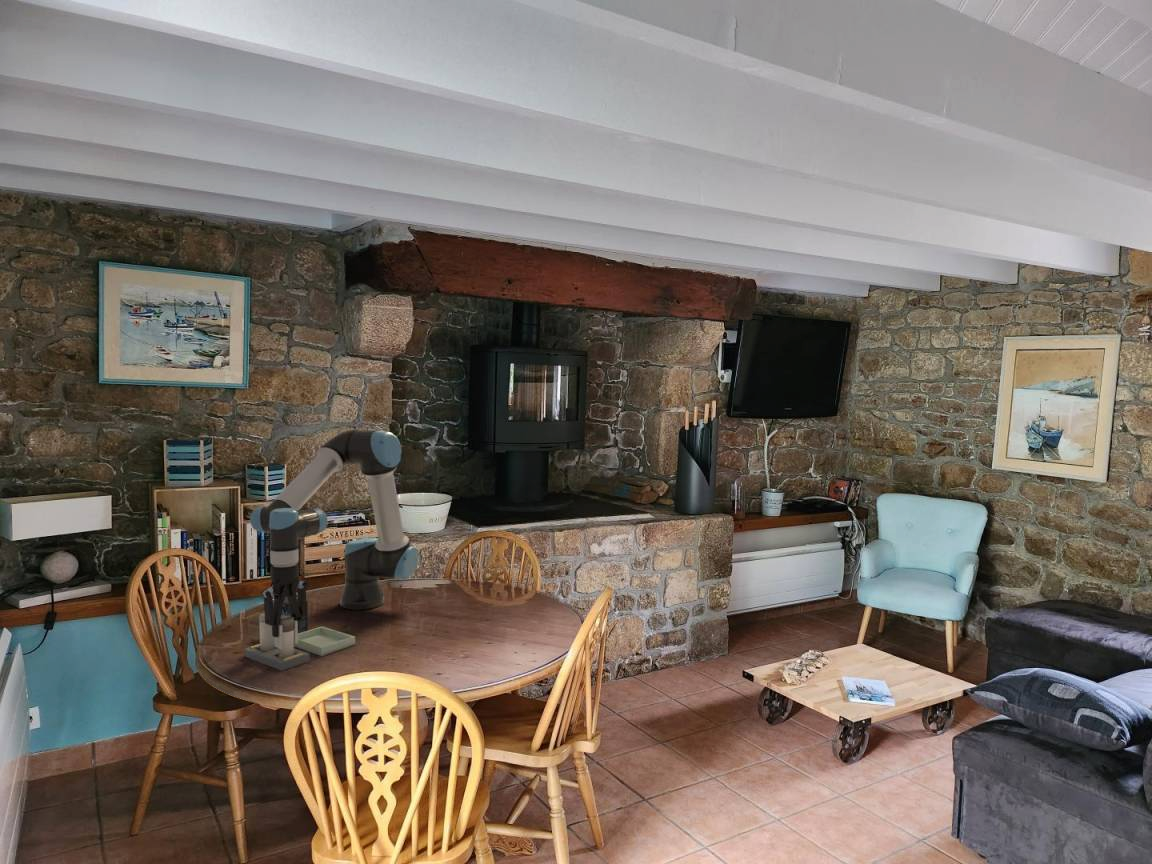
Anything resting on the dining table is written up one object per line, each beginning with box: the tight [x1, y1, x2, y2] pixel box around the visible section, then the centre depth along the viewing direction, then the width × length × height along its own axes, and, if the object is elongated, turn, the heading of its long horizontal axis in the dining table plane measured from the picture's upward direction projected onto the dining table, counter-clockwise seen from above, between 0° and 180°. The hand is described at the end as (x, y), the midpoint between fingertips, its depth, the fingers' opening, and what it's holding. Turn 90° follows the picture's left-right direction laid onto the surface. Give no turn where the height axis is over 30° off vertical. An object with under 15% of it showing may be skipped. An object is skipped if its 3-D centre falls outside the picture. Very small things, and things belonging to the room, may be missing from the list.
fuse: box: [258, 612, 275, 652], centre depth 224 cm, size 4×4×12 cm
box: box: [281, 597, 309, 634], centre depth 244 cm, size 8×6×11 cm
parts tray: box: [294, 626, 356, 657], centre depth 234 cm, size 16×12×2 cm
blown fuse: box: [279, 615, 295, 659], centre depth 219 cm, size 4×4×12 cm
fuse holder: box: [243, 643, 311, 672], centre depth 222 cm, size 18×9×2 cm, turn 55°
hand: (286, 644), depth 220 cm, fingers closed on blown fuse, 4 cm apart
